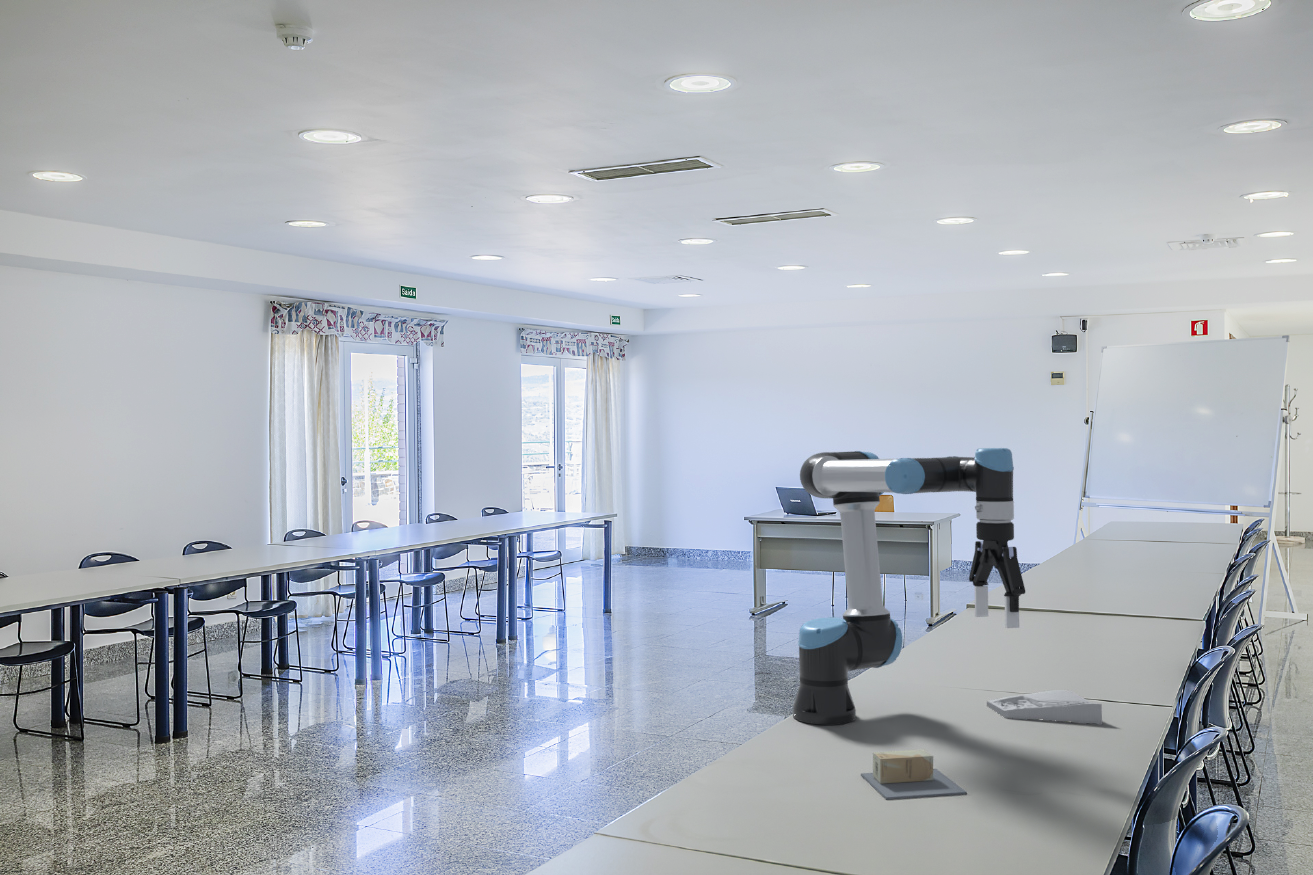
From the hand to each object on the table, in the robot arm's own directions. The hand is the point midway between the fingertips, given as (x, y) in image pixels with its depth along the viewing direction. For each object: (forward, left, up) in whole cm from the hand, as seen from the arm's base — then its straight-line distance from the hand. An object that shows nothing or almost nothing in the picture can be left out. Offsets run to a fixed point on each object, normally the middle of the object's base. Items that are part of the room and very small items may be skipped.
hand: (996, 622), depth 215 cm
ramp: (-30, +26, -29) cm, 49 cm away
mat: (+12, -24, -29) cm, 39 cm away
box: (+10, -31, -26) cm, 41 cm away
